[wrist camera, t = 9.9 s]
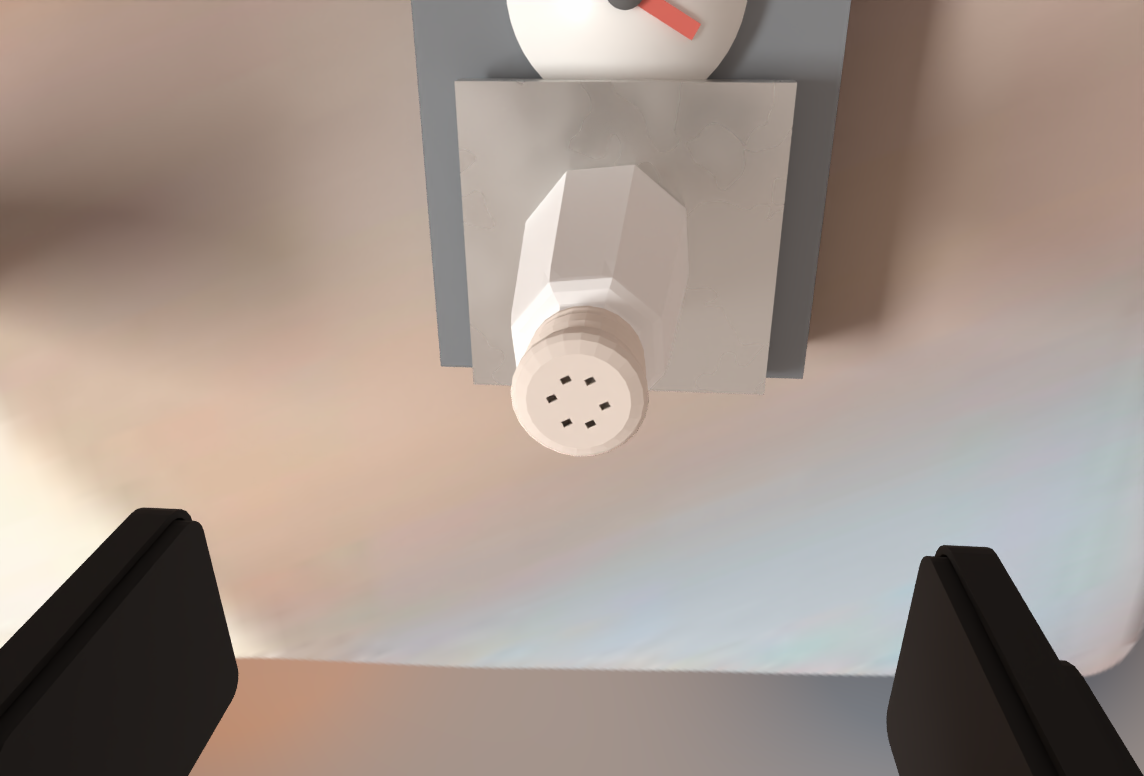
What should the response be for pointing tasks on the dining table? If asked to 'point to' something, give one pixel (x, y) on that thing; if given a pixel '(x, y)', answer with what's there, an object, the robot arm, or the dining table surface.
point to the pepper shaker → (596, 307)
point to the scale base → (634, 51)
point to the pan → (671, 159)
